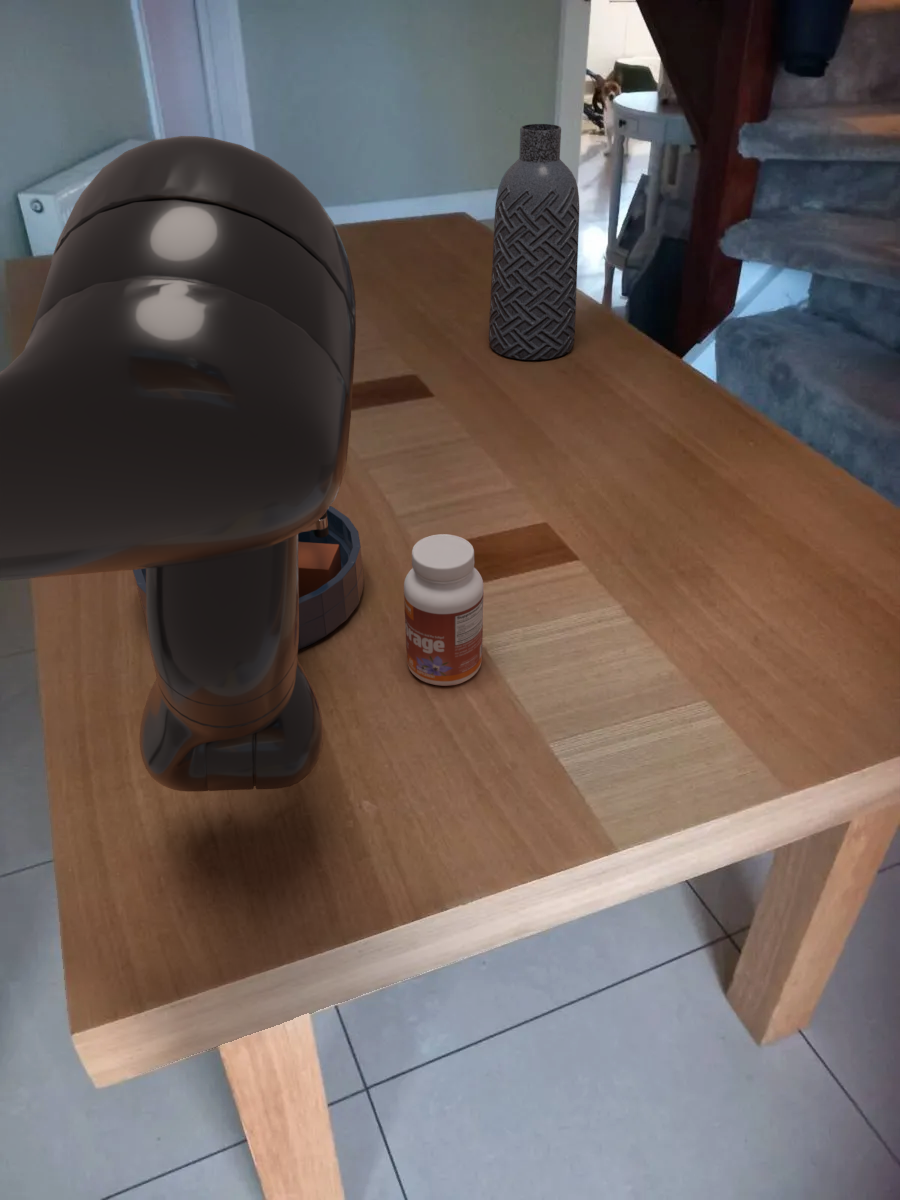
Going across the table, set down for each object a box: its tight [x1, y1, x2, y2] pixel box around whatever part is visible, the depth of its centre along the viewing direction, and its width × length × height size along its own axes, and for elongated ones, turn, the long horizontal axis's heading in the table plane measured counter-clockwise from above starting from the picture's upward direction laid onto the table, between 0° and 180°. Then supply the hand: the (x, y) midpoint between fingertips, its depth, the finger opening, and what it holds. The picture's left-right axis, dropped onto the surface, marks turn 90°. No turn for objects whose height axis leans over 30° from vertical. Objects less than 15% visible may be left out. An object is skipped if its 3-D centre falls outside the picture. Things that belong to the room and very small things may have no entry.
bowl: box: [132, 505, 365, 651], centre depth 82 cm, size 19×19×5 cm
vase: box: [488, 123, 580, 361], centre depth 123 cm, size 12×12×28 cm
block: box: [298, 542, 341, 598], centre depth 81 cm, size 4×4×4 cm
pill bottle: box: [403, 533, 485, 687], centre depth 72 cm, size 6×6×11 cm
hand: (245, 472), depth 82 cm, fingers closed on candle, 5 cm apart
